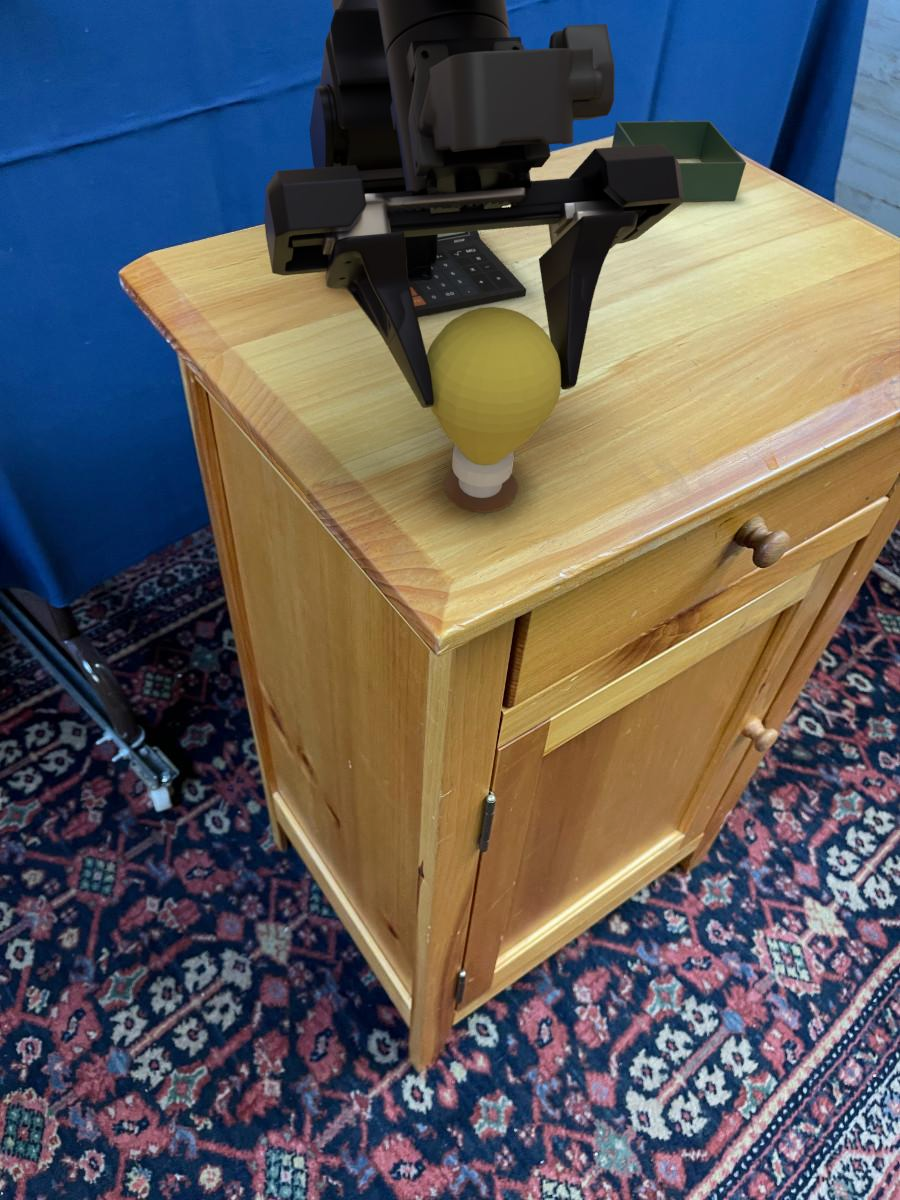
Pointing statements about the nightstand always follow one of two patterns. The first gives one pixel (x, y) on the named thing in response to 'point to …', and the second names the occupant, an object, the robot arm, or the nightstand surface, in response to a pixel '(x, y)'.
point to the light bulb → (491, 391)
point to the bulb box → (691, 155)
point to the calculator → (464, 277)
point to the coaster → (480, 504)
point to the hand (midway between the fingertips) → (499, 397)
